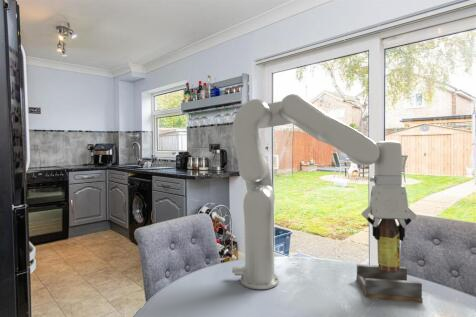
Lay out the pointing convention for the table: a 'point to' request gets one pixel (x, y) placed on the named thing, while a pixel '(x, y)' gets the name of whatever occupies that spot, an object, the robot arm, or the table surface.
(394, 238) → the sauce bottle
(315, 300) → the table surface
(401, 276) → the bottle track
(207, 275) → the table surface
